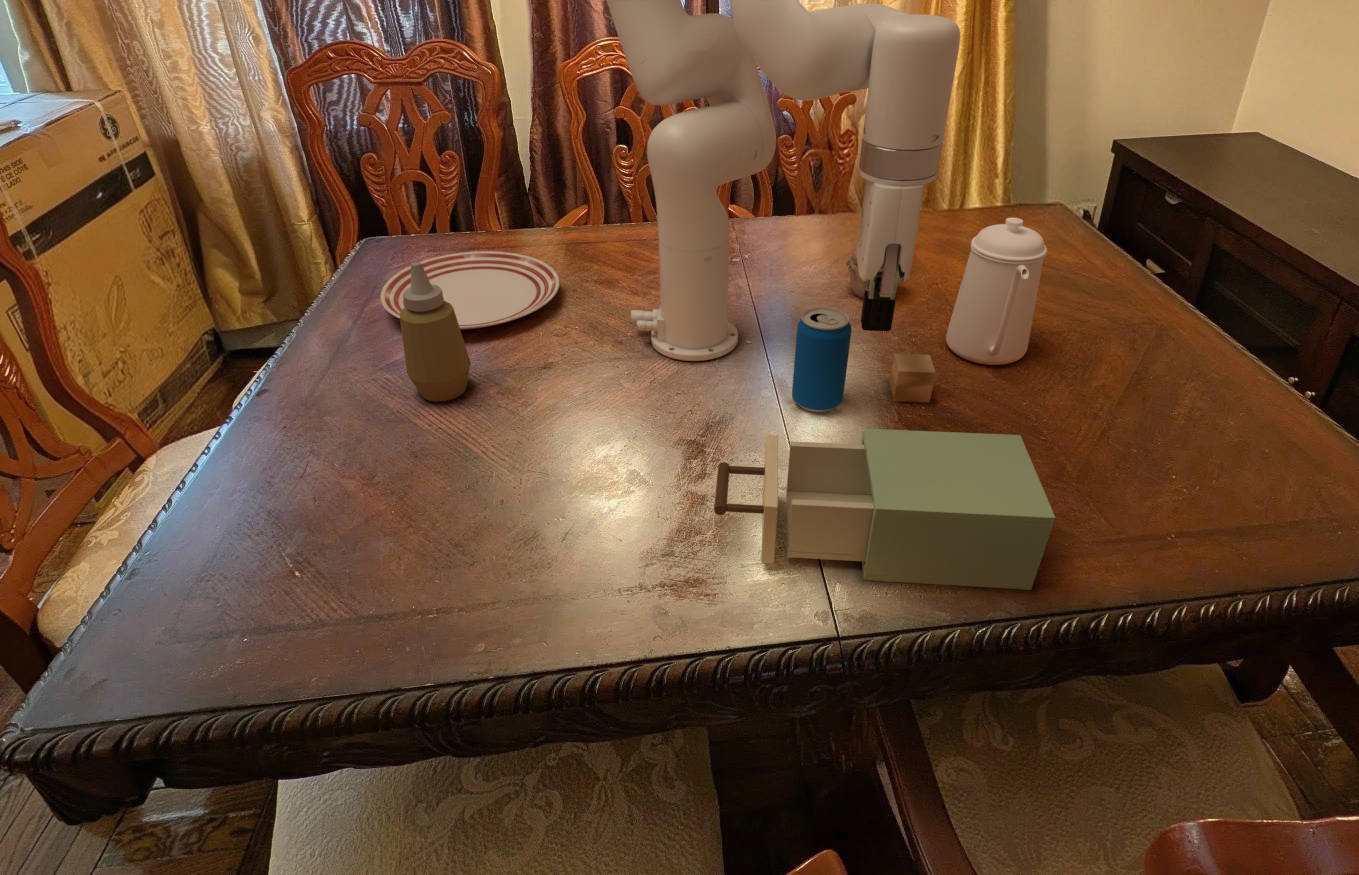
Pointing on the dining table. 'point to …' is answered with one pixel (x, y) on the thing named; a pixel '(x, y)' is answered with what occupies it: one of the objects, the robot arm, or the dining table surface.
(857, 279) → the cupcake
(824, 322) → the beverage can
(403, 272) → the dinner plate
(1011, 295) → the coffeepot
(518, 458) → the dining table surface
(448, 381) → the squeeze bottle
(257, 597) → the dining table surface
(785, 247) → the dining table surface
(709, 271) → the robot arm
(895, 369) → the block
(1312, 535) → the dining table surface
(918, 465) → the cabinet
